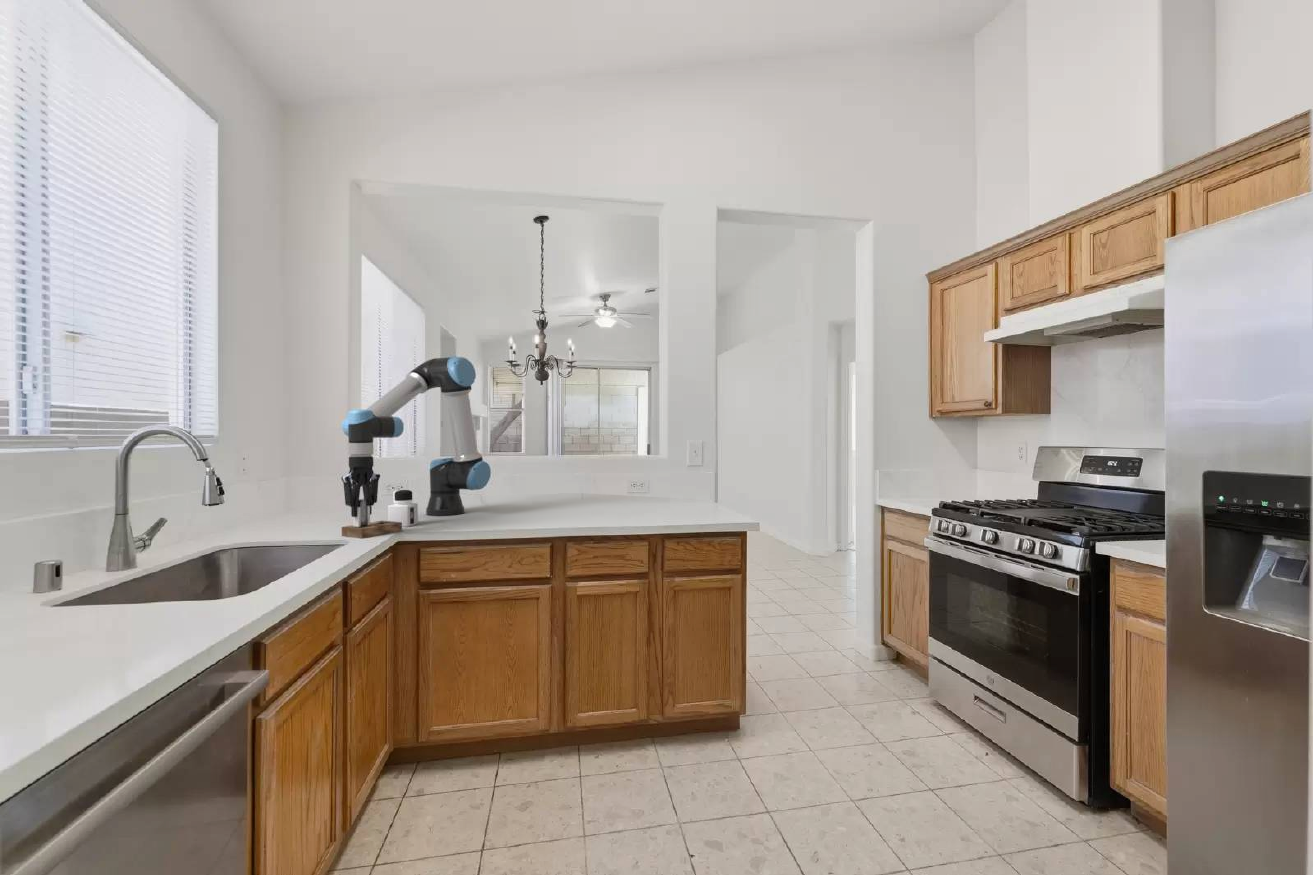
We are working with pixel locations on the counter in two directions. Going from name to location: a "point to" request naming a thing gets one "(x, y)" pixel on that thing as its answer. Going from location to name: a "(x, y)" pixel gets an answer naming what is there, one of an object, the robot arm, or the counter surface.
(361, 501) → the pin
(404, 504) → the container
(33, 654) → the counter surface
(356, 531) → the hole block
